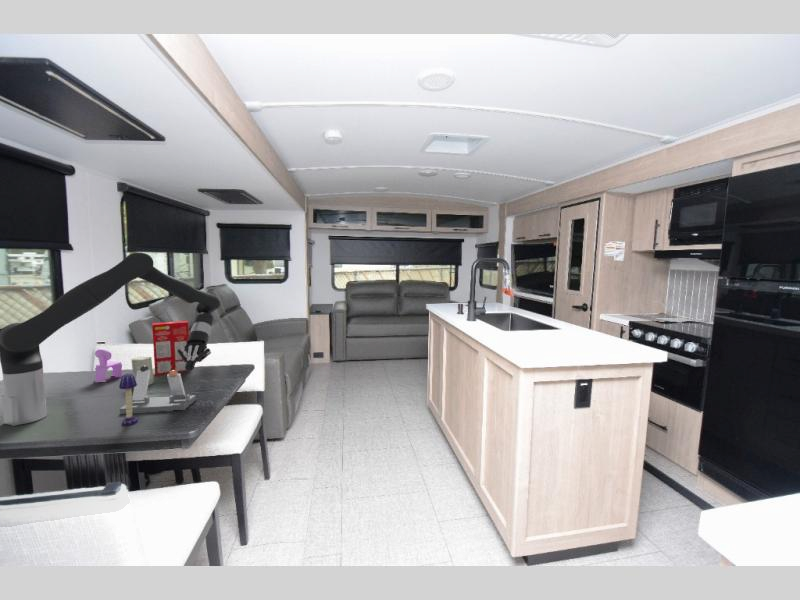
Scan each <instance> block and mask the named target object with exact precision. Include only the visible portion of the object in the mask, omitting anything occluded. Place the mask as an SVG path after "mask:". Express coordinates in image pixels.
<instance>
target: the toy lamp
mask: <svg viewBox="0 0 800 600" xmlns="http://www.w3.org/2000/svg"><path fill="white" fill-rule="evenodd" d="M136 386H137V383H136V380H135V378H134V375H133V373H126V374H122V377H120V381H119V386H118V388H119V389H120V390H124V391H125V394H124V395H125V405H126V409H127V410H126V413H127V414H125V418H124V419H123V420H122V422H121V425H122V426H125V425H126V426H131V425H134V424H136V423H139V421H138V418H137V417H136V416H133V413H132V397H133V392H132V389H134V387H136Z"/></svg>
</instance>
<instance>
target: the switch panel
mask: <svg viewBox="0 0 800 600" xmlns="http://www.w3.org/2000/svg"><path fill="white" fill-rule="evenodd" d="M185 395H186V399H183V400H173V397H172V394H171V395H169V396H156V397H150V396H148V395H146V397H145V398H144V400H145V401H138V402H132V414H143V413H144V414H146V413H147V412H149V413H160V412H159V411H166V412H174V411H173V410H183V411H186V408H187V407H188V406H189V405H190V404H191V405H192V404H193V403H194V402H195V401H196V399H197V398H196V394H195V395H194V394H192V395H191V394H189V393H188V394H185ZM191 405H190V406H191ZM190 406H189V407H190ZM189 407H188V408H189ZM188 408H187V409H188ZM126 410H127V409H126V404H125V405H123V406H121V407H120V408H119V415H126V414H127V413H126Z"/></svg>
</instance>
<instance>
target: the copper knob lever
mask: <svg viewBox="0 0 800 600" xmlns="http://www.w3.org/2000/svg"><path fill="white" fill-rule="evenodd" d="M181 375H182V374H181V372H179V373H177V371H176V370H171V371H170V372H169V374H166V379H167V382H168V386H169V389H170V393H171V395H172V397H173V400H183V399H186V395H187V394H186V391H185V387H184V383H183V379H182V376H181Z"/></svg>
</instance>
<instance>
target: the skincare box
mask: <svg viewBox="0 0 800 600" xmlns="http://www.w3.org/2000/svg"><path fill="white" fill-rule="evenodd" d="M142 366H147V367H148V370H151V371H150V377H149V383H148V386H149V385H153V384H154V373H153V372H154V370H153V361H152V357H151V356H139V357H138V356H137V357H136V358H132V359H131V368H132V374H133V375H134V378H135V380H136V375H137V370H140V368H141V367H142Z"/></svg>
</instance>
